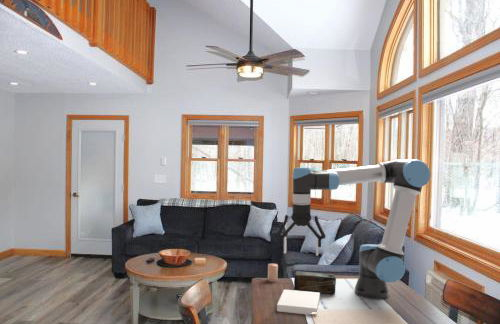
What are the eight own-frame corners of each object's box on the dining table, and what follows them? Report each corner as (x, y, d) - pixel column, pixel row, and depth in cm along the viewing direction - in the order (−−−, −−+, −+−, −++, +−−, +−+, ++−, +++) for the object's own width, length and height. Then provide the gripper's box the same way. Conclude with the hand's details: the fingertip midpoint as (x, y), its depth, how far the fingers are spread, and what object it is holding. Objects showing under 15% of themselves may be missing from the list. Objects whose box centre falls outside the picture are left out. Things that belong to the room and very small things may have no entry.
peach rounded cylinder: (278, 279, 212) (278, 263, 212) (276, 282, 207) (277, 266, 207) (268, 278, 213) (268, 263, 213) (266, 281, 208) (267, 265, 208)
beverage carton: (334, 290, 195) (335, 295, 189) (294, 287, 199) (293, 291, 192) (335, 274, 195) (336, 277, 189) (294, 270, 199) (294, 274, 192)
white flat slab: (319, 299, 183) (319, 292, 183) (316, 316, 164) (317, 308, 164) (283, 295, 187) (284, 289, 187) (276, 311, 167) (277, 304, 167)
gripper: (331, 203, 176) (331, 253, 176) (273, 201, 181) (273, 250, 182) (331, 205, 168) (330, 257, 169) (270, 203, 174) (270, 254, 174)
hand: (301, 253), depth 175 cm, fingers open, 13 cm apart
